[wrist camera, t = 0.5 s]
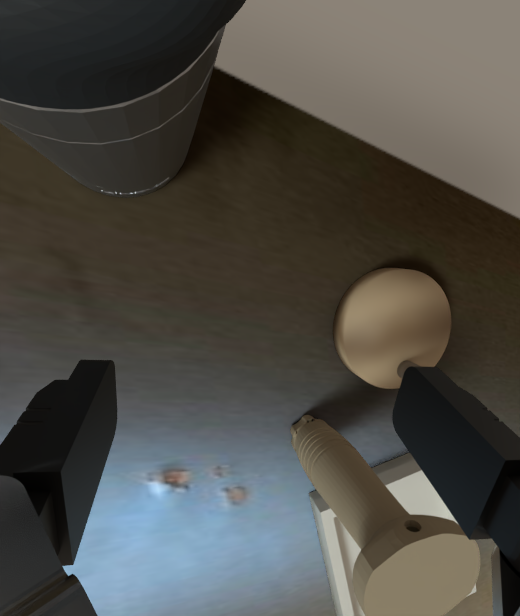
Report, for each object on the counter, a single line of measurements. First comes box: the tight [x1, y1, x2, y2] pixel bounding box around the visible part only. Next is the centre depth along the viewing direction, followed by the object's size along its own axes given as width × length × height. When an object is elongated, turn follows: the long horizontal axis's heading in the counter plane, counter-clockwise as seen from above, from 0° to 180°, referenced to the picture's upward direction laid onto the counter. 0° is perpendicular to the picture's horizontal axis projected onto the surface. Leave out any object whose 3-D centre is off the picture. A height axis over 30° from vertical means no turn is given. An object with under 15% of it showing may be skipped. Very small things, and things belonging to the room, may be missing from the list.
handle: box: [290, 415, 480, 616], centre depth 25 cm, size 5×6×15 cm
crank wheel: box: [333, 268, 451, 389], centre depth 29 cm, size 10×10×6 cm
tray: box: [309, 453, 476, 616], centre depth 35 cm, size 16×14×2 cm
